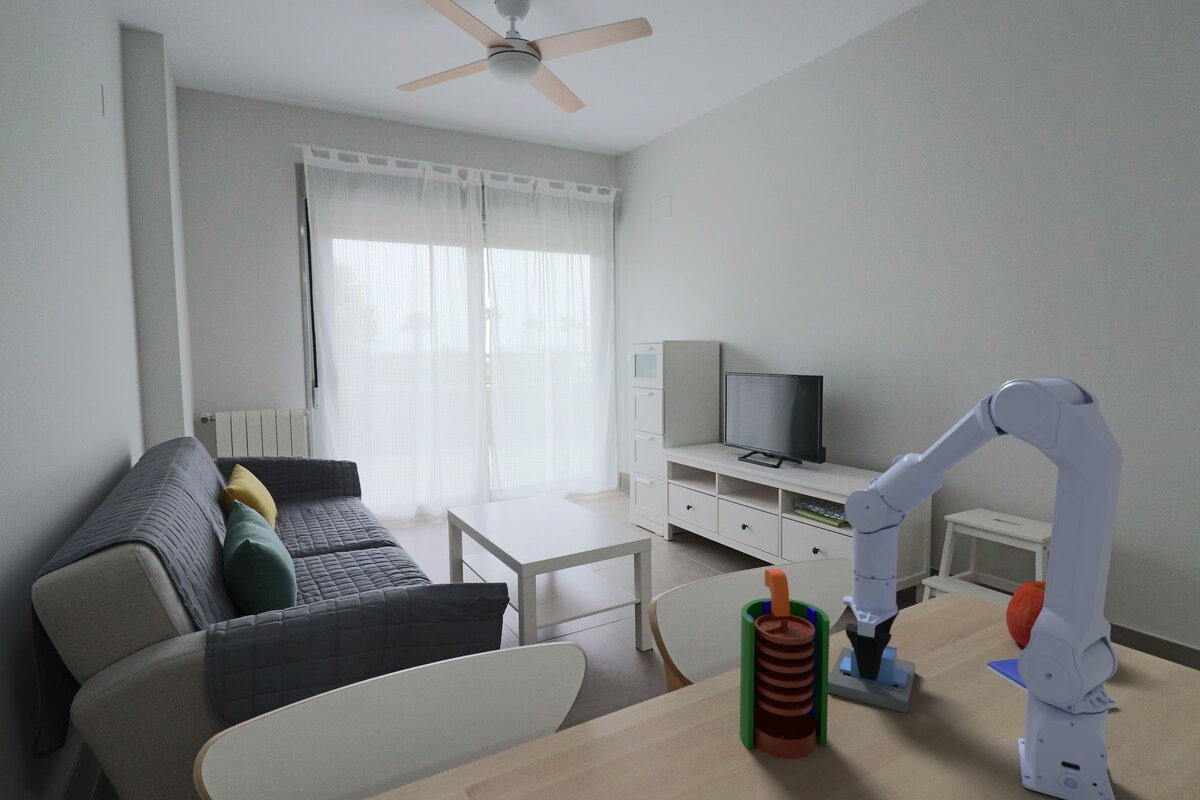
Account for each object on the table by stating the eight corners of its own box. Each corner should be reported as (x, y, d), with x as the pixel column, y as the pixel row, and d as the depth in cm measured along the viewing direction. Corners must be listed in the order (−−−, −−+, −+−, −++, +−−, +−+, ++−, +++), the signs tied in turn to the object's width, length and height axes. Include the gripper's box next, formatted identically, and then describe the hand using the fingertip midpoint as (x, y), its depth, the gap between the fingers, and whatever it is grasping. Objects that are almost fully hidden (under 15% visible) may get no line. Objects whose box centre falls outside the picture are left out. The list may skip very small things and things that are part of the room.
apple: (1040, 666, 93) (1043, 596, 92) (988, 634, 104) (990, 571, 103) (1106, 661, 94) (1110, 593, 93) (1048, 630, 105) (1051, 568, 104)
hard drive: (1115, 700, 82) (1033, 655, 94) (1062, 707, 80) (986, 661, 92) (1115, 711, 82) (1033, 666, 94) (1062, 718, 80) (986, 671, 92)
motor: (761, 766, 71) (762, 595, 70) (725, 722, 80) (725, 569, 78) (838, 750, 74) (840, 585, 72) (795, 709, 82) (796, 561, 81)
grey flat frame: (906, 713, 81) (907, 702, 81) (826, 692, 86) (826, 682, 86) (914, 672, 91) (915, 662, 91) (842, 656, 96) (842, 647, 96)
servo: (905, 698, 85) (905, 656, 84) (839, 681, 89) (839, 642, 89) (907, 684, 88) (908, 645, 88) (844, 669, 93) (844, 631, 92)
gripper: (852, 554, 96) (851, 639, 97) (834, 584, 83) (832, 681, 84) (903, 561, 92) (901, 650, 93) (891, 593, 80) (889, 695, 81)
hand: (872, 666), depth 89 cm, fingers open, 7 cm apart
